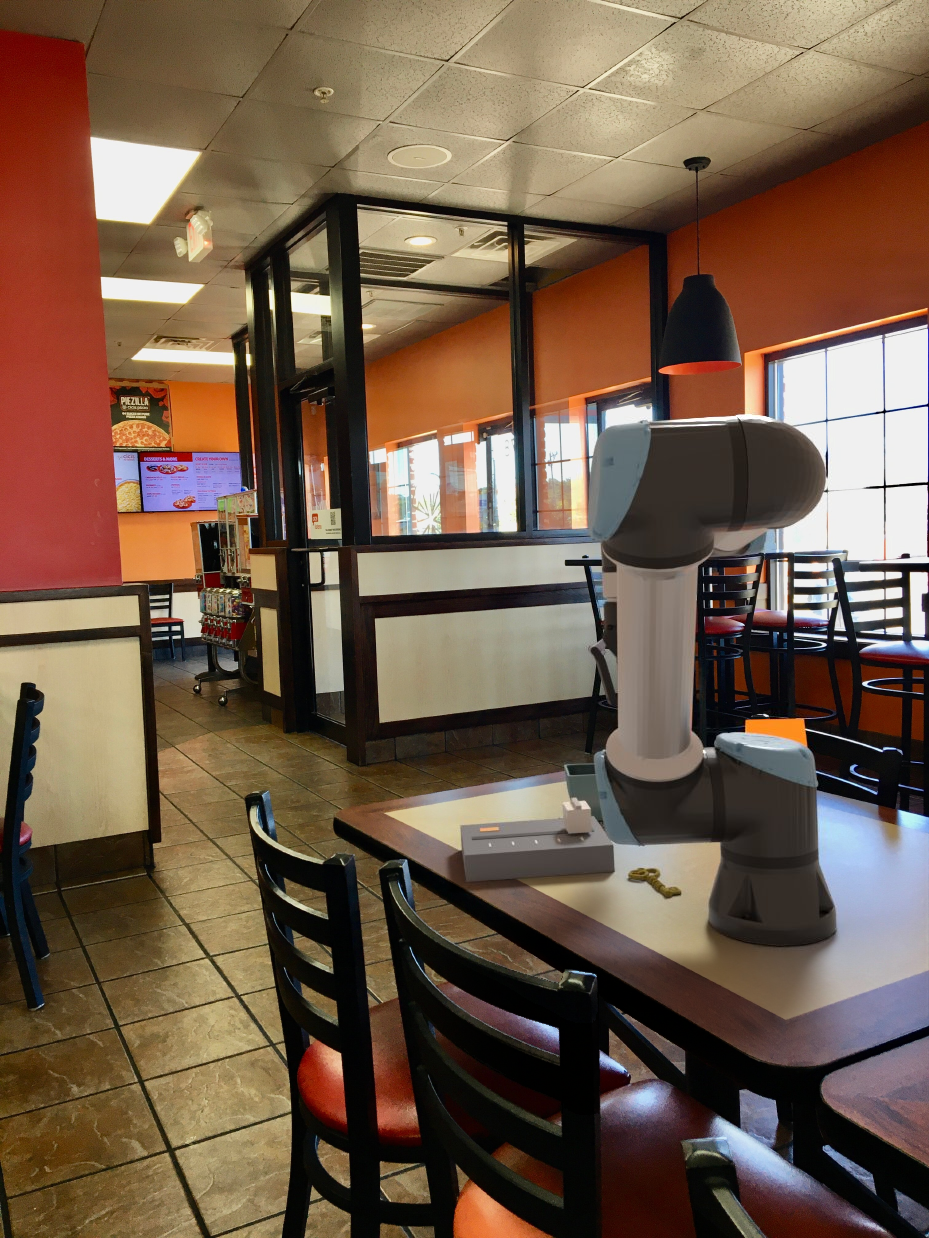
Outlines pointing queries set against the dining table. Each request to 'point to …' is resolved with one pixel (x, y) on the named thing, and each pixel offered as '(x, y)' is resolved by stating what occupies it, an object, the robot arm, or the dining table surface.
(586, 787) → the flower pot
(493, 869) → the dimmer console
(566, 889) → the dining table surface
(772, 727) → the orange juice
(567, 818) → the slider cap
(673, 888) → the key
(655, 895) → the dining table surface
